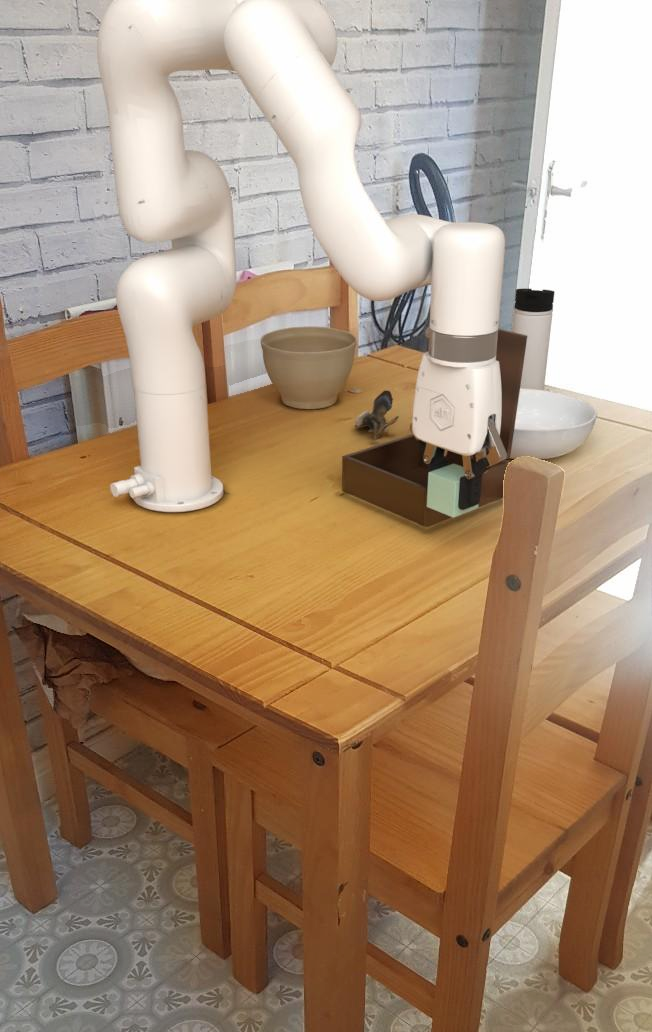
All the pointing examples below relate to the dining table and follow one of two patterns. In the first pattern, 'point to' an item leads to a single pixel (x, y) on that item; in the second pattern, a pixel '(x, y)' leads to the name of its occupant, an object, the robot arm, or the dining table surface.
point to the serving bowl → (550, 424)
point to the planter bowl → (308, 364)
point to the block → (446, 490)
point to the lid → (509, 380)
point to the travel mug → (534, 333)
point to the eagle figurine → (378, 415)
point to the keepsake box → (406, 479)
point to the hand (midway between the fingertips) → (452, 498)
